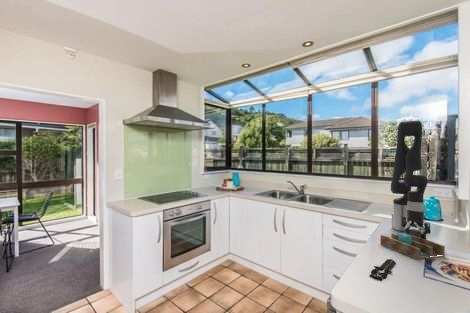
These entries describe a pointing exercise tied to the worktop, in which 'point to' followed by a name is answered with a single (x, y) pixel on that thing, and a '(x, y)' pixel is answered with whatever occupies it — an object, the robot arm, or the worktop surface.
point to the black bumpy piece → (386, 270)
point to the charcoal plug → (415, 232)
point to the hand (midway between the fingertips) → (415, 237)
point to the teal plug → (405, 238)
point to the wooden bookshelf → (414, 246)
